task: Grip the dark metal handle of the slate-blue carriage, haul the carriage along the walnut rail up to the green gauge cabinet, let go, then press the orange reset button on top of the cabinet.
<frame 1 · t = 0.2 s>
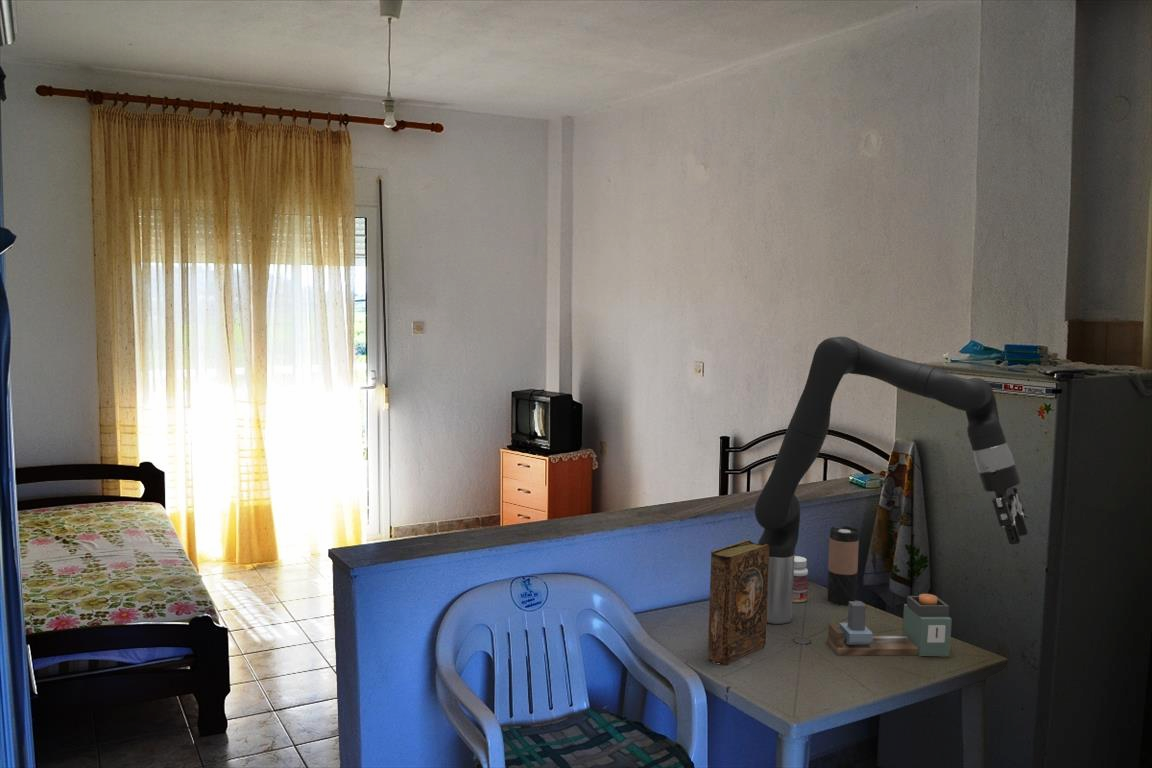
hand: (1019, 539, 197), 31 cm above the table, tool tilted 20°, fingers open, 8 cm apart
travel mug: (841, 602, 247), on the table
pill bottle: (795, 599, 248), on the table
gauge cabinet: (925, 647, 216), on the table
reset button: (928, 600, 214), point 12 cm above the table, slide at 0.0 cm
rail stand: (871, 648, 215), on the table
carriage: (856, 622, 214), point 6 cm above the table, slide at -4.0 cm
book: (735, 653, 211), on the table
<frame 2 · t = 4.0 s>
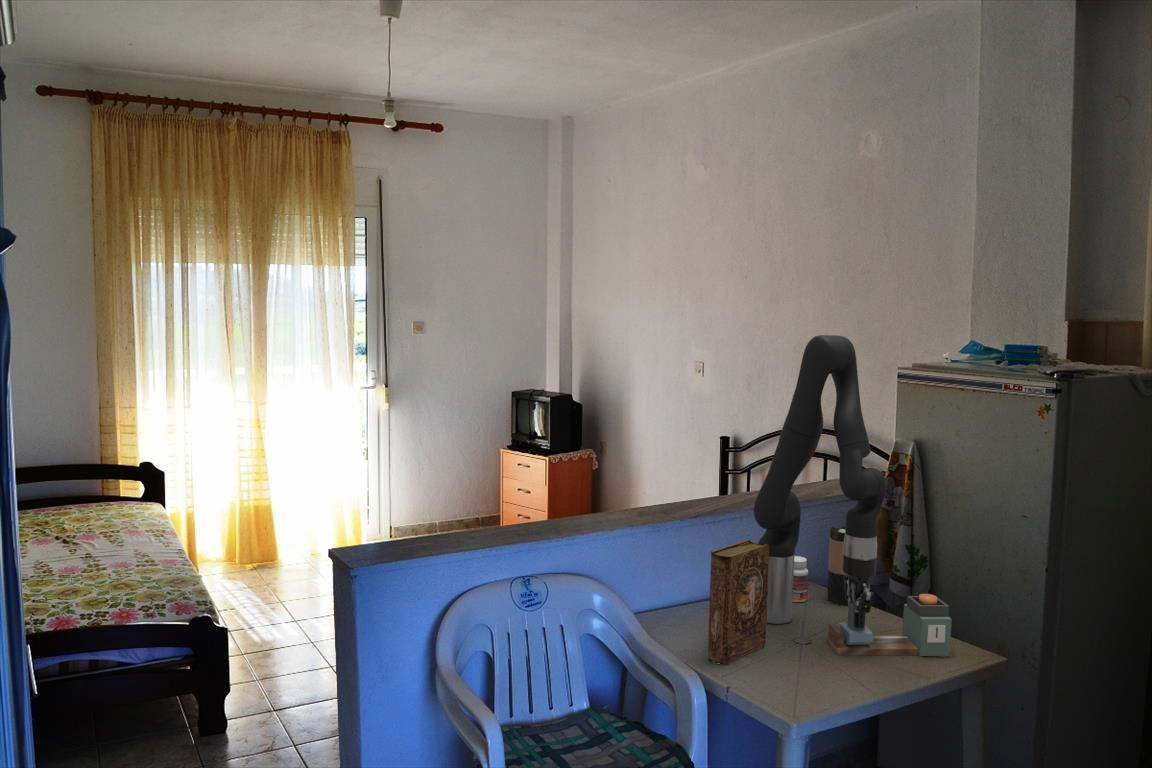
hand: (856, 624, 214), 6 cm above the table, tool pointing down, fingers closed on carriage, 3 cm apart
carriage: (856, 622, 214), point 6 cm above the table, slide at -4.0 cm, touching gripper
everything else where it was.
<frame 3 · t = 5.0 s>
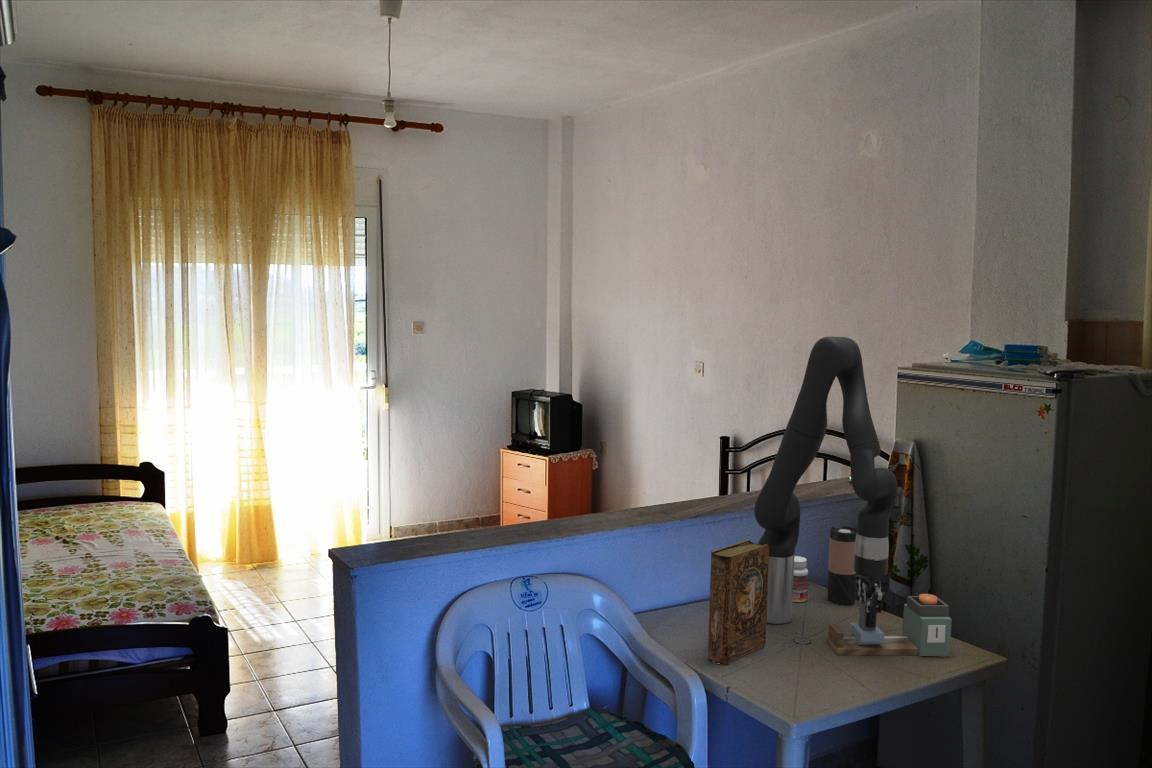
hand: (867, 624, 214), 6 cm above the table, tool pointing down, fingers closed on carriage, 3 cm apart
carriage: (867, 622, 214), point 6 cm above the table, slide at -1.3 cm, touching gripper
everything else where it was.
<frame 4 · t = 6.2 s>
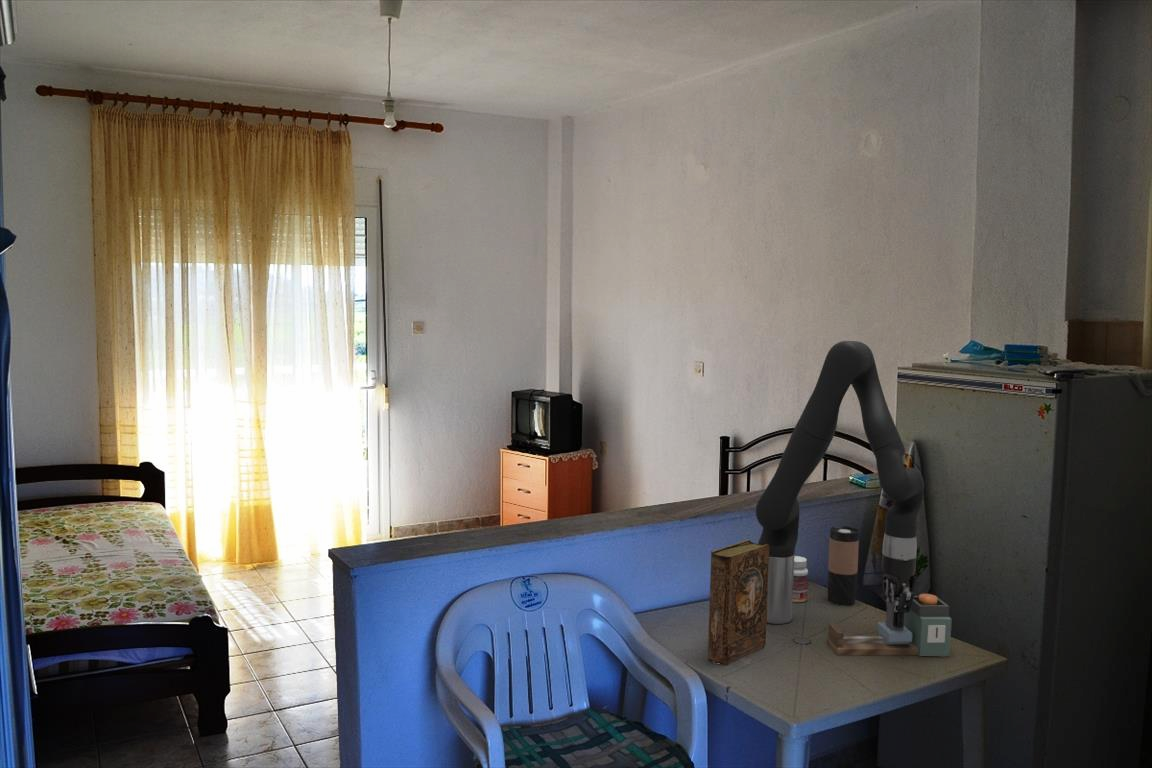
hand: (895, 624, 215), 6 cm above the table, tool pointing down, fingers closed on carriage, 3 cm apart
carriage: (895, 622, 215), point 6 cm above the table, slide at 5.3 cm, touching gripper
everything else where it was.
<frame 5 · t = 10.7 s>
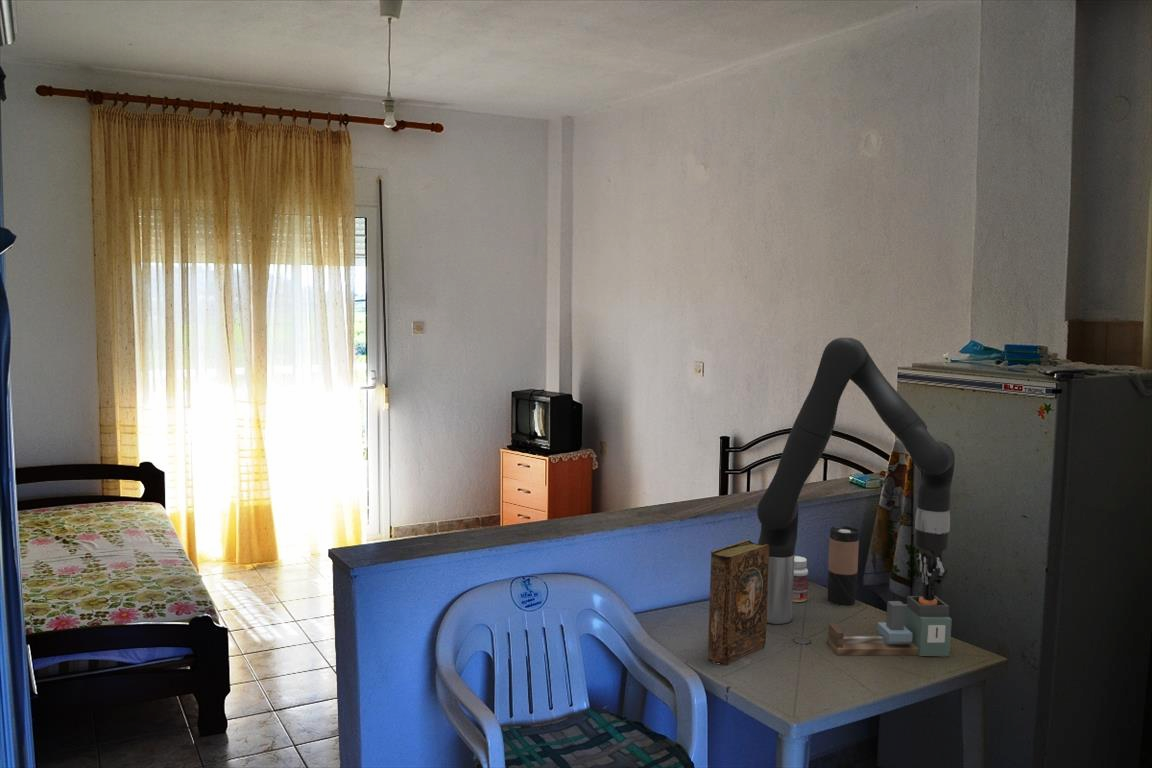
hand: (928, 599, 214), 12 cm above the table, tool pointing down, fingers closed
reset button: (927, 603, 214), point 11 cm above the table, slide at 0.7 cm, touching gripper
carriage: (895, 622, 215), point 6 cm above the table, slide at 5.4 cm
everything else where it was.
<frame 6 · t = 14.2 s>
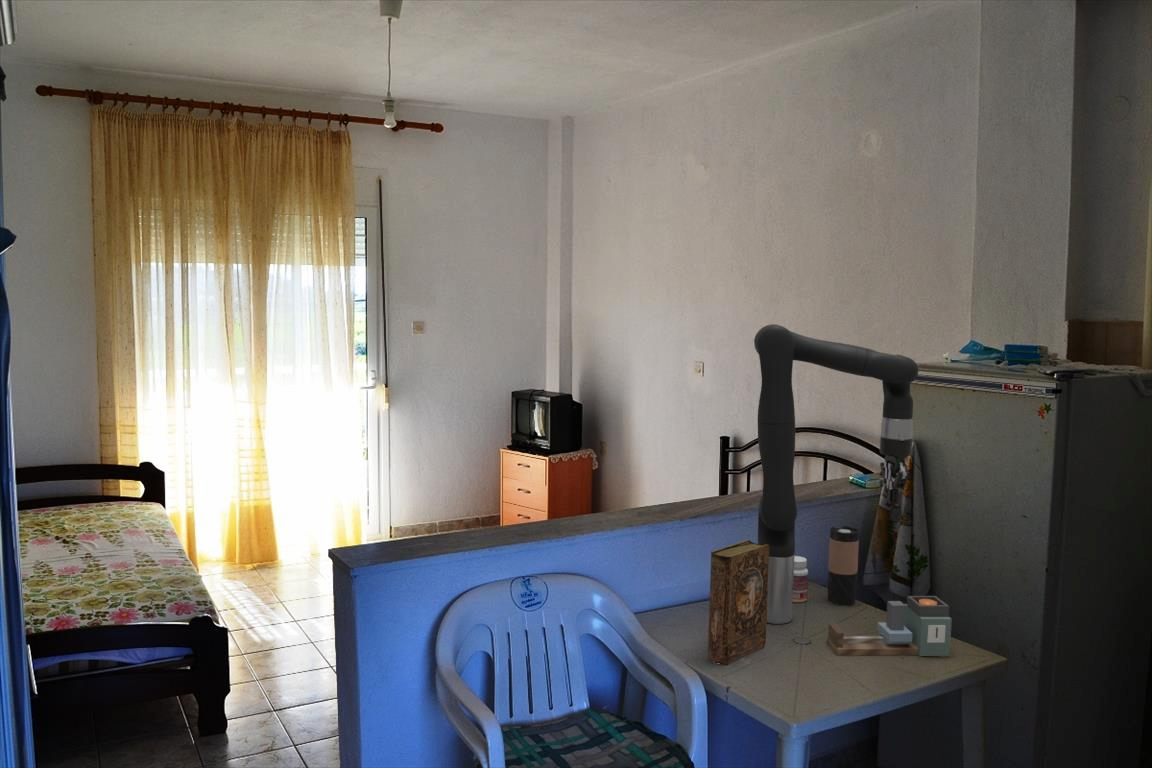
hand: (892, 503, 228), 31 cm above the table, tool pointing down, fingers closed
reset button: (927, 605, 215), point 10 cm above the table, slide at 1.2 cm
everything else where it was.
at the end: carriage slide at 5.4 cm; reset button slide at 1.2 cm; the gripper is holding nothing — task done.
